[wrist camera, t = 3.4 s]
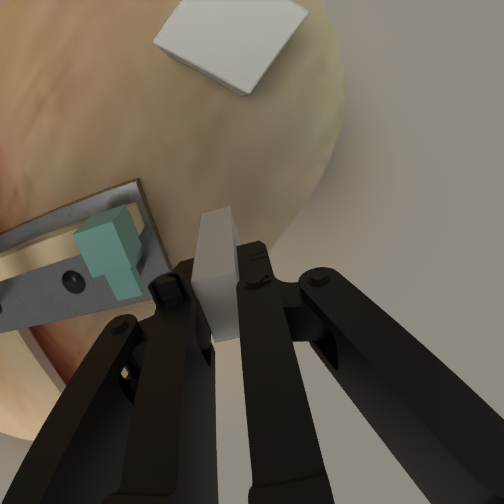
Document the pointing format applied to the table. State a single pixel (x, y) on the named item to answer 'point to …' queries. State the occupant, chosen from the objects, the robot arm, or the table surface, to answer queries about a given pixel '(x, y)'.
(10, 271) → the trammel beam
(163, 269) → the bolt plate
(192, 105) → the table surface
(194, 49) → the product box
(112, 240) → the block
